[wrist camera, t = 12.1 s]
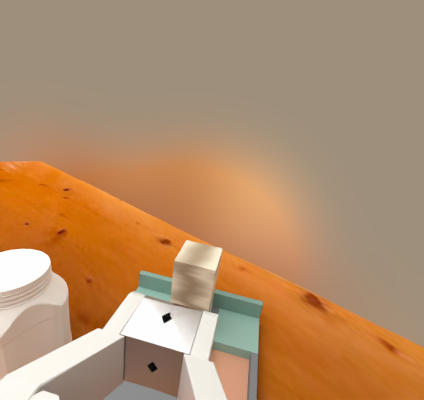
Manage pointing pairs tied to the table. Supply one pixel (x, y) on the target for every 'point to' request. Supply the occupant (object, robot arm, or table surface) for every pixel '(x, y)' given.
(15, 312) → the jar
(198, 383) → the robot arm
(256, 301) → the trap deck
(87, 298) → the table surface
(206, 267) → the maple block
